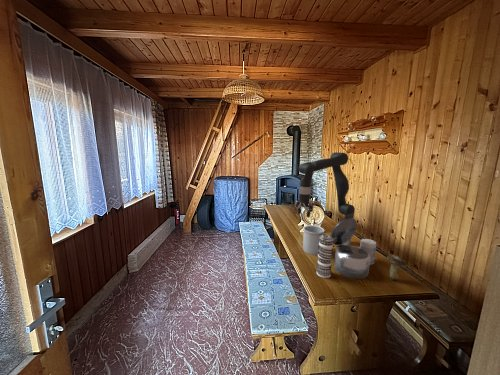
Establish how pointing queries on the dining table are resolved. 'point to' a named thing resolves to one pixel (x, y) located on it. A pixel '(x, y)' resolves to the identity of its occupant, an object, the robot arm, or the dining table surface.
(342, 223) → the cooker lid
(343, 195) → the robot arm
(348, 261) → the cooker pot
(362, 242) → the supplement tub
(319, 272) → the decorative candle
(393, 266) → the mushroom
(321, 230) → the utensil holder
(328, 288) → the dining table surface
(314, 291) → the dining table surface
